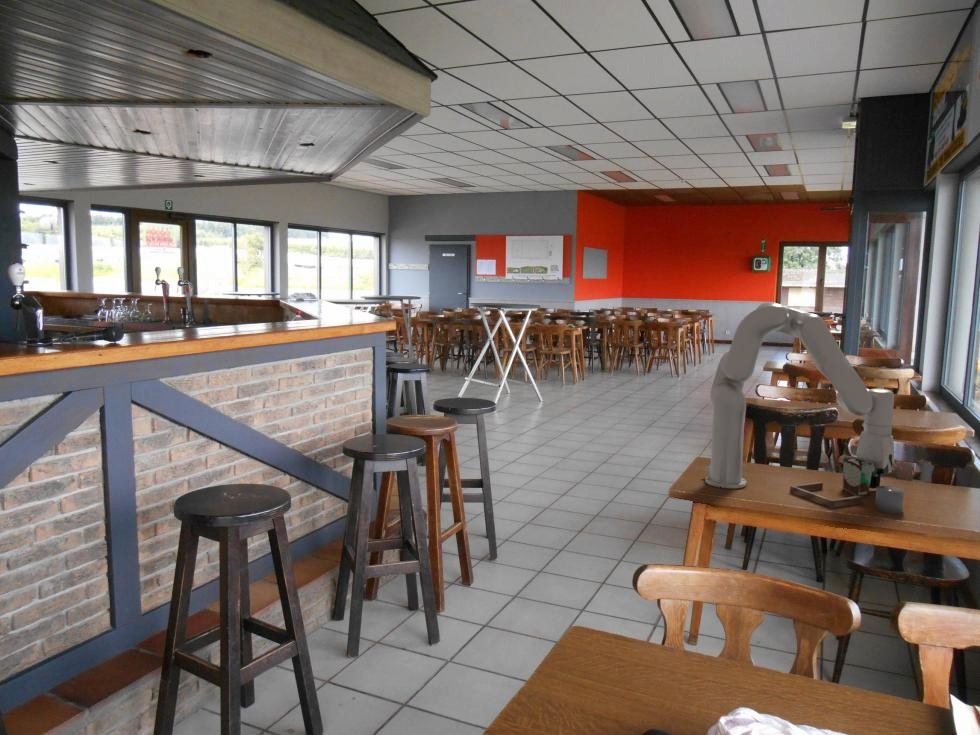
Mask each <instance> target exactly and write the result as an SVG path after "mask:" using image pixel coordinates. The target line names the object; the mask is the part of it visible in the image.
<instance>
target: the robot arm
mask: <svg viewBox="0 0 980 735" xmlns="http://www.w3.org/2000/svg"><path fill="white" fill-rule="evenodd" d="M771 332H776V333H779V334H783V335H786V336H790V337H793V338H798V339H799V340H800V341H801V342H800V343H802V345H803V347H804V348H805V350H806V352H807V353H808V355H809V358H811V361H812V362H813V364H814V366H815V367H816V369H817V370H818V371H819V372H820V374H822V375H823V376H824V377H825V378H826V379H827V380H828V381H829V382H830V384H831V385H832V386H833V387H834V389H835V391H836V392H837V394H836V403H837V405H838V406H839V407H840V408H841V409H842V410H844V411H846V412H847V413H849V414H850V415H853V416H856V417H863V416H864V421H863V422H862V424H861V426H862V427H863V431H861V432H860V435H859V438H858V441H857V449H856V456H855V457H858V458H863V459H864V460H865V461H866V462H867V460H870V461H872V462H873V464H874V468H875V471H873V472H872V476H871V482H870V488H869V489H872V490H874V489H875V490H876V487H878V486H881V485H880V484H881V477H882V476H883V475H884V474H889V473H892V472H893V471H892V468H893V467H894V462H895V443H894V436H893V435H892V431H893V430H892V429H893V420H894V419H893V418H894V403H895V394H894V392H893V391H892V390H890V389H886V388H885V389H884V388H871V389H868V388H867V387H866V385H865V384H864V381H863V380H862V378H861V377H860V376H859V373H858V372H857V371H856V370H855V369H854V366H852V364H851V363H850V361H849V359H848V358H847V356H846V355H845V354H844V353H843V351H842V349H841V347H840V346H839V344H838V343H837V341H836V340H835V337H834V336H833V334H832V332H831V331H830V329H829V327H828V326H827V324H826V321H824V319H823V318H822V316H820V315H818V314H815V313H812V312H808V311H807V312H806V311H802V310H799V309H795V308H791V307H787V306H785V305H782V304H780V303H778V302H777V303H776V302H770V301H769V302H764V303H761V304H760V305H758V306H757V308H755V309H754V310H753V311H751V312H749V313H748V314H747V315H746V316H745V317H744V318H742V320H741V321H740V322H739V324H738V326H737V328H736V330H735V332H734V335H733V339H732V340H731V344H730V348H729V350H728V351H727V352H725V353H724V354H722V356H721V358H720V360H719V362H718V366H717V368H716V371H715V374H714V378H713V380H712V381H713V382H712V386H711V389H710V394H709V395H710V401H711V403H712V405H713V415H712V422H711V423H712V428H711V447H710V448H711V454H710V464H709V465H708V466H705V467H704V470H705V471H706V472H708V475H707V476H706V477H705V480H704V481H705V483H706V484H707V485H708V486H712V487H715V488H720V487H721V488H720V489H742V488H744V487H746V486H747V480H746V479H745V478H743V460H744V458H743V456H744V455H743V454H744V453H743V452H744V433H745V419H746V412H747V400H746V399H747V398H746V396H745V393H744V391H743V388H744V386H745V383H746V381H748V380H749V379H751V378H752V376H753V375H754V372H755V368H756V363H757V359H758V357H759V352H760V350H761V347H762V344H763V343H764V340H765V338H766V337H767V336H768V335H769V334H770V333H771Z"/></svg>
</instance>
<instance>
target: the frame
mask: <svg viewBox="0 0 980 735" xmlns="http://www.w3.org/2000/svg"><path fill="white" fill-rule="evenodd" d="M823 486H824V483H823V482H821V481H818V482H812V483H811V482H810V483H804V484H803V483H802V484H797V485H796V484H795V485H790V486H789V487H790V488H789V493H791V494H793V495H797V496H798V497H802V498H803V499H807V500H810V501H811V502H815V503H817V504H820V505H822V506H825V507H828V508H830V507H831V508H830V509H833V508H835V509H836V508H840V507H848V506H854V505H861V504H863V503H864V497H863V496H855V495H854V496H849V497H848V496H847V497H842V498H836V499H831V498H828V497H824V496H822V495H819V494H817V493H814V492H812V491H819V490H823V488H824V487H823Z"/></svg>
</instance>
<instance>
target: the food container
mask: <svg viewBox="0 0 980 735" xmlns="http://www.w3.org/2000/svg"><path fill="white" fill-rule="evenodd" d="M841 461H842V463H843V464H842V469H843V470H842V489H843V490H845V491H847V492H849V493H850V494H852V495H853V496H854V497H855V496H863V498H865V497H868V496H869V494H870V489H871V488H870V482H871V476H872V472H873V471H875V468H874V464H873V462H872V461H870V460H867V462H866V461H865V460H864V459H863V458H858V457H856V456H847V455H845V456H844V455H843V457H842V460H841Z"/></svg>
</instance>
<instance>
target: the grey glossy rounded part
mask: <svg viewBox="0 0 980 735" xmlns="http://www.w3.org/2000/svg"><path fill="white" fill-rule="evenodd" d="M874 499H875V502H874V509H875V510H876V511H878V512H881V513H885V514H890V515H891V514H892V515H897V514H902V513H903V511H904V502H905V490H904V489H902V488H900V487H897V486H896V487H895V486H891V485H880V486H878V487H876V488H875V498H874Z"/></svg>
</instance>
